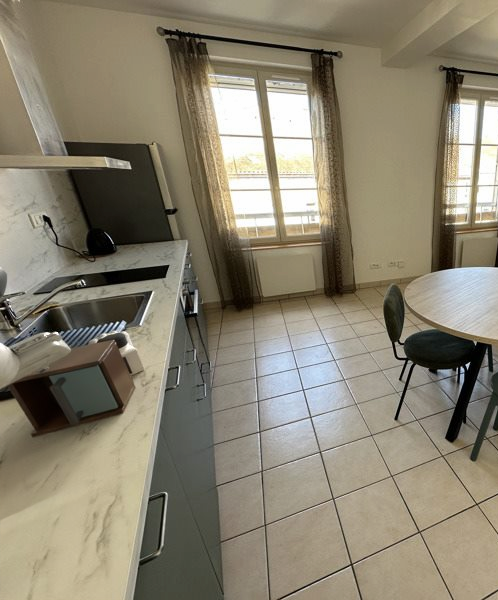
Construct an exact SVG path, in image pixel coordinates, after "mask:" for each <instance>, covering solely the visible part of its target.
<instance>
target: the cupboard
mask: <svg viewBox="0 0 498 600" xmlns="http://www.w3.org/2000/svg"><path fill="white" fill-rule="evenodd" d="M69 348H70V349H71V351H70V353H69V354H68V355H66V356H64V357H62V358H60V359H58V360H56V361H54V362H52V363H50V364H49V366H48V368H49V369H48V370H46V371H44V372H42V373H39V372H38V371H35V372H33V373H31V374H29V375H27V376H25V377H23V378H21V379H19V380H17V381H15V382H13V383H11V384H10V385H8V386H7V388H8V390H9V392H11V394H12V396H13V397H14V399H15V400H16V402H17V404H18V405H19V407H20V408H21V410H22V412H23V413H24V415H25V417H26V418H27V420H28V421H29V422H30V424H31V426H32V428H33V430H32V431H31V433H30V436H31V437H32V438H35V437H38V436H42V435H46V434H49V433H53V432H57V431H61V430H65V429H68V428H72V427H76V426H79V425H84V424H87V423H91V422H95V421H99V420H101V419H105V418H109V417H113V416H117V415H120V414H124V413H125V410H126V409H127V407H128V404H129V402H130V401H131V398H132V396H133V394H134V392H135V390H136V388H137V387H136V385H135V383H134V381H133V378H132V375H131V376H130V373H129V371H128V369H127V367H126V364H125V362H124V360H123V358H122V355H121V353H120V351H119V349H118V347H117V344H116V342H115V340H110V341H105V342H100V343H95V344H90V345H89V344H86V345H80V346H75V347H69ZM94 365H98V366H99V368H100V370H101V372H102V374H103V376H104V378H105V380H106V382H107V384H108V386H109V388H110V390H111V393H112V395H113V397H114V399H115V401H116V403H117V405H118V407H117V408H115V409H111V410H108V411H104V412H100V413H96V414H93V415H89V416H85V417H81V419H80V422H79V423H78V424H76V425H71V424H70V422H69V421H68V419H67V417H66V415H65V414H64V412H63V410H62V408H61V407H60V405H59V403H58V401H57V399H56V398H55V396H54V394H53V392H52V391H51V389H50V387H51V386H52V385H53V383H52V381H51V379H50V377H49V376H50V375H53V374H57V373H62V372H67V371H71V370H76V369H80V368H85V367H89V366H94Z"/></svg>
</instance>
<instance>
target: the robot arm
mask: <svg viewBox="0 0 498 600" xmlns="http://www.w3.org/2000/svg"><path fill="white" fill-rule="evenodd" d="M7 285H8V273H7V272H6V271H5V270H4V269H3V268H2V267H1V266H0V298H2V297H4V295H5V293H6V289H7ZM70 348H71V347H69V345H68V344H67V343H66V342H65V341H64V339H63V337H62V335H61V334H60V333H59V332H57V331H53V332H40V333H37V334H34V335H32V336H29V337H27V338H25V339H23V340H20V341H19V342H17V343H14V344H12V345H10V346H7V345H5V344H4V343H2V342H0V390H2V389H3V388H6V387H8V385H10V384H11V383H13V382H15V381H17V380H19V379H21V378H23V377H25V376H27V375H29V374H31V373H33V372H35V371H38V372H39V373H42V372H44V371H46V370H48V369H49V368H48V366H49V364H50V363H52V362H54V361H56V360H58V359H60V358H62V357H64V356H66V355H68V354H69V353H70V351H71V349H70Z"/></svg>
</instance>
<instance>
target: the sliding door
mask: <svg viewBox="0 0 498 600" xmlns="http://www.w3.org/2000/svg"><path fill="white" fill-rule="evenodd" d="M49 377H50V379H51V381H52V383H53V385H52V386H51V387H50V389H51V391H52V392H53V394H54V396H55V398H56V399H57V401H58V403H59V405H60V407H61V408H62V410H63V412H64V414H65V415H66V417H67V419H68V421H69V422H70V424H71V425H76V424H78V423H79V422H80V419H81V417H85V416H89V415H93V414H96V413H100V412H104V411H108V410H111V409H115V408H117V407H118V405H117V403H116V401H115V399H114V397H113V395H112V393H111V390H110V388H109V386H108V384H107V382H106V380H105V378H104V376H103V374H102V372H101V370H100V368H99V366H98V365H94V366H89V367H85V368H80V369H76V370H71V371H67V372H62V373H57V374H53V375H50V376H49ZM76 426H77V425H76Z"/></svg>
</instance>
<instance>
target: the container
mask: <svg viewBox="0 0 498 600" xmlns="http://www.w3.org/2000/svg"><path fill="white" fill-rule="evenodd" d="M110 340H115V342H116V344H117V347H118V349H119V351H120V353H121V355H122V358H123V360H124V362H125V364H126V367H127V369H128V371H129V373H130V376H131V377H132V376H134V375H136V374H138V373H140V372H142V371H145V366H144V363H143V361H142V359H141V356H140V354H139V352H138V349H137V348H135V347H134V346H133V347H132V346H130V345H129V344H128V341H127V339H126V337H125V334H123V333H111V334H108V335H105V336H103V337H101V338H100V339H99V340H98V341H97V343H100V342H105V341H110Z"/></svg>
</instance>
